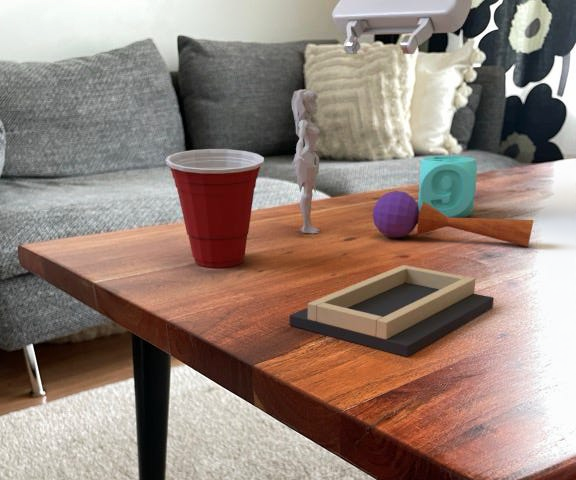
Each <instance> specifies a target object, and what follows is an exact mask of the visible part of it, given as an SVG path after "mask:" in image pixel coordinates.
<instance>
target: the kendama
mask: <svg viewBox="0 0 576 480" xmlns="http://www.w3.org/2000/svg"><path fill="white" fill-rule="evenodd" d="M372 220H373V223H374V226H375V228H376V229H377V230H378V232H379V233H380V234H382V235H383V236H385V237H387V238H391V239H392V238H393V239H400V238H403V237H406V236H408V235H410V234H411V233H412V232H413V231H414V230H415V229H417V231H416V234H417V235H423V234H425V233H429V232H432V231H435V230H440V229H442V228H446V227H448V228H452V229H456V230H460V231H463V232H468V233H472V234H475V235H479V236H483V237H487V238H491V239H495V240H497V241H498V240H499V241H502V242H507V243H510V244H514V245H519V246H522V247H526V248H528V247H529V245H530V244H529V243H530V240H531V236H532V231H533V225H534V219H518V218H517V219H515V218H513V219H512V218H478V217H477V218H476V217H475V218H474V217H463V218H448V217H447V216H445V215H444V214H442V213H441V212H439V211H438V210H436V209H435V208H433V207H432V206H430V205H429V204H427V203H425V202H423V204H422V207H421V210H420V212H419V208H418V202H417V201H416V199H415V198H414V197H413V195H411V194H409V193H408V192H406V191H402V190H401V191H400V190H392V191H389V192H386V193H385V194H383V195H382V196H381V197H380V198H378V200H377V202H376V203H375V204H374V207H373V209H372ZM416 227H417V228H416Z"/></svg>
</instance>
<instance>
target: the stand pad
mask: <svg viewBox="0 0 576 480" xmlns="http://www.w3.org/2000/svg"><path fill="white" fill-rule="evenodd" d="M476 280H477V279H476V278H475V277H471V276H464V275H460V274H455V273H450V272H444V271H439V270H434V269H427V268H421V267H418V266H411V265H406V264H402V265H400V266H397V267H395V268H392V269H390V270H387V271H384V272H382V273H379V274H377V275H375V276H372V277H370V278H367V279H365V280H362V281H360V282H357V283H355V284H352V285H350V286H347V287H344V288H343V289H340V290H337V291H334V292H332V293H330V294H327V295H324V296H322V297H320V298H316V299H314V300H313V301H310V302H308V303H307V307H306V308H303V309H301V310H298V311H296V312H294V313H291V314H289V326H291V327H293V328H294V327H295V328H298V329H301V330H306V331H309V332H312V333H316V334H320V335H323V336H328V337H331V338H335V339H339V340H343V341H347V342H350V343H353V344H357V345H361V346H365V347H368V348H371V349H372V348H373V349H376V350H379V351H382V352H383V351H384V352H387V353H391V354H395V355H398V356H402V357H406V358H408V357H410V356H412V355H413V354H415V353H416V352H419V351H420V350H422V349H423V348H426V347H427V346H428V345H431V344H432V343H434V342H435V341H437V340H439V339H441V338H442V337H444V336H446V335H448V334H449V333H451V332H453V331H454V330H457V329H458V328H460V327H462V326H463V325H465V324H466V323H468V322H470V321H472V320H474V319H475V318H477V317H479V316H481V315H483V313H485V312H487V311H489V310H491V309H492V308H493V307H494V299H495V298H494V297H493V296H488V295H485V294H479V293H475V288H476Z"/></svg>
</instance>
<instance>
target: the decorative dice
mask: <svg viewBox="0 0 576 480" xmlns="http://www.w3.org/2000/svg"><path fill="white" fill-rule="evenodd" d="M419 170H420V171H419V172H420V173H419V184H418V185H419V187H418V198H417V199H418V201H417V204H418V208H419V212H420V210H421V207H422V204H423V202H425V203H427V204H429V205H430V206H432V207H433V208H435V209H436V210H438V211H439V212H441V213H442V214H444V215H445V216H447V217H448V218H468V217H469V216H470V215H471V214H473V210H474V205H475V197H476V187H477V176H478V175H477V174H478V173H477V172H478V163H477V160H476V159H475V158H474V157H469V156H460V155H431V156H424V157H422V158H421V160H420V169H419Z"/></svg>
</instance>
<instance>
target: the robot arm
mask: <svg viewBox="0 0 576 480" xmlns="http://www.w3.org/2000/svg"><path fill="white" fill-rule="evenodd" d="M472 4H473V1H472V0H339V1H338V3H337V4H336V5H335V7H334V9H333V10H332V12H331V13H332V14H331V17H332V21H333V22H334V25H335V27H336V30H337V31H338V33H339V34H340V35H341V36H346V37H347V38H346V39H345V41H344V43H343V51H344V52H345V54H346V55H357V53H358V51H359V50H360V48H361V44H360V42H359V40H358V39H360V38H361V36H362V35H367V36H368V35H403V34H404V36H403V38H402V41H401V42H400V49H401V50H402V54H403V55H414V54H415V53H416V51H417V49H418V47H419V46H421V45H422V44H423V43H425V42H426V41H427V40H429V39H430V38H431V37H432V35H433V34H448V33H449V34H452V33H455V32H456V31H458V30H459V29H461V28H462V27H463V25H464V24H465V22H466V20H467V18H468V15H469V13H470V11H471V8H472ZM405 34H406V35H405ZM407 34H408V35H407Z"/></svg>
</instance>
